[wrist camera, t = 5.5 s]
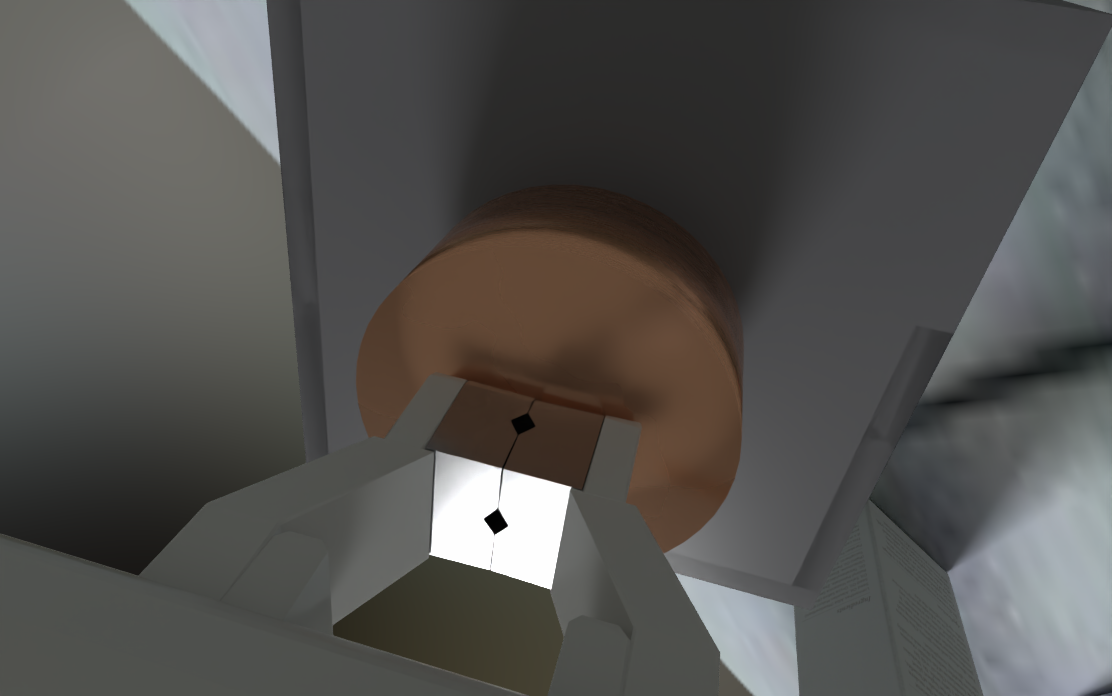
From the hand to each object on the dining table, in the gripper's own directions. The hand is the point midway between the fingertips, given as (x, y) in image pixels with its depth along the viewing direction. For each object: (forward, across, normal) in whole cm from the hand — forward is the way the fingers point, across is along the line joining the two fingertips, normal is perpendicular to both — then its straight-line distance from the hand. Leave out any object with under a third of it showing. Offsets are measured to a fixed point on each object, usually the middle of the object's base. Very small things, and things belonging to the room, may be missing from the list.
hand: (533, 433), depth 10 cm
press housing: (+18, 0, 0) cm, 18 cm away
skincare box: (+18, -13, +17) cm, 28 cm away
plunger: (+15, 0, 0) cm, 15 cm away
